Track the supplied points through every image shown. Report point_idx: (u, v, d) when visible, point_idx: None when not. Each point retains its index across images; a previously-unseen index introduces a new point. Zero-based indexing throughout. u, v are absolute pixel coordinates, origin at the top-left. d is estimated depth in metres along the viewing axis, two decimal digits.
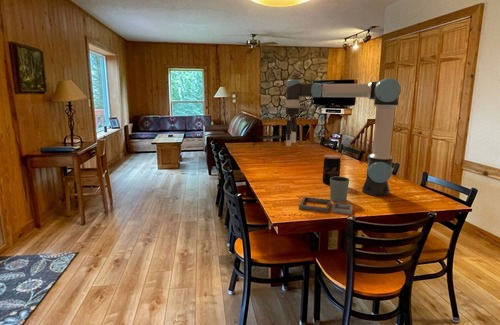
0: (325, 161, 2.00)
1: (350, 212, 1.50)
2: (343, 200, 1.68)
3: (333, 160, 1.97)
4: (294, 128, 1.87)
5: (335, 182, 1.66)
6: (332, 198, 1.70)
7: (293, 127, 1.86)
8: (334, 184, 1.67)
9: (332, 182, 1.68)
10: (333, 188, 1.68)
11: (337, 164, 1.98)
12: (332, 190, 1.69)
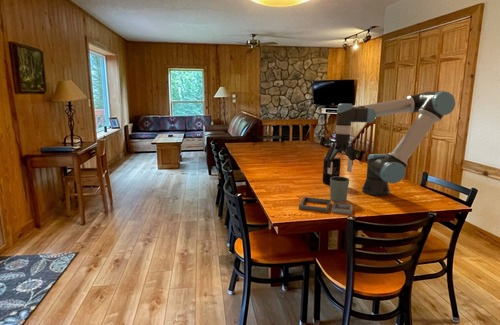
0: (325, 161, 2.00)
1: (350, 212, 1.50)
2: (343, 200, 1.68)
3: (333, 160, 1.97)
4: (349, 156, 1.69)
5: (335, 182, 1.66)
6: (332, 198, 1.70)
7: (348, 155, 1.69)
8: (334, 184, 1.67)
9: (332, 182, 1.68)
10: (333, 188, 1.68)
11: (337, 164, 1.98)
12: (332, 190, 1.69)
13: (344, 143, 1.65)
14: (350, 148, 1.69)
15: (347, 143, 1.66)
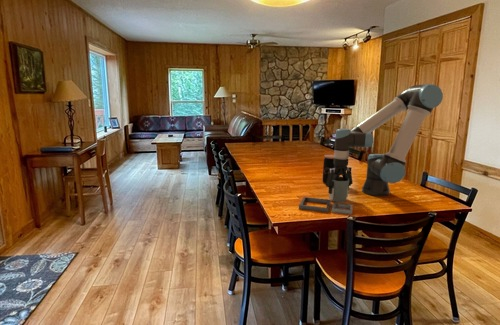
0: (325, 161, 2.00)
1: (350, 212, 1.50)
2: (343, 200, 1.68)
3: (333, 160, 1.97)
4: None
5: (335, 182, 1.66)
6: None
7: (345, 180, 1.71)
8: (334, 184, 1.67)
9: None
10: None
11: None
12: None
13: (343, 166, 1.67)
14: (348, 173, 1.71)
15: (346, 167, 1.68)
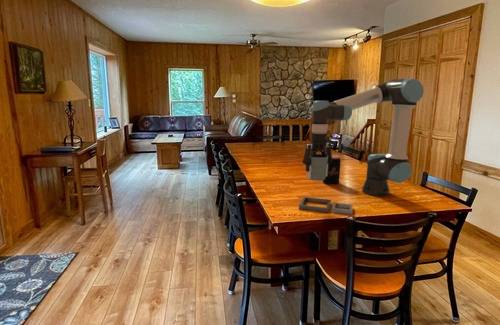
0: None
1: (350, 212, 1.50)
2: (321, 178, 1.55)
3: (333, 160, 1.97)
4: None
5: (312, 159, 1.52)
6: None
7: None
8: (311, 161, 1.53)
9: None
10: None
11: (337, 164, 1.98)
12: None
13: (321, 142, 1.54)
14: (327, 149, 1.58)
15: (324, 143, 1.55)
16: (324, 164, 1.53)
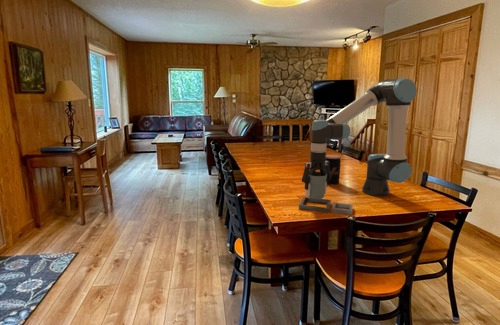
0: None
1: (350, 212, 1.50)
2: (320, 196, 1.56)
3: (333, 160, 1.97)
4: None
5: (311, 177, 1.54)
6: None
7: (323, 175, 1.60)
8: (310, 179, 1.55)
9: None
10: None
11: (337, 164, 1.98)
12: None
13: (320, 161, 1.56)
14: (326, 168, 1.60)
15: (323, 161, 1.57)
16: (323, 182, 1.55)
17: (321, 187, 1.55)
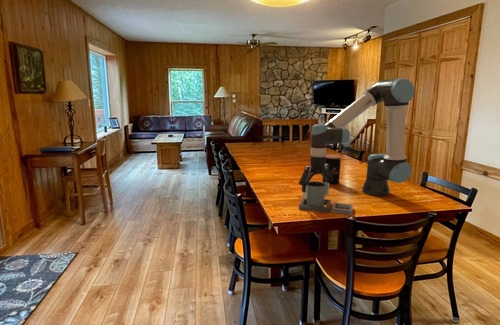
0: (325, 161, 2.00)
1: (350, 212, 1.50)
2: (319, 206, 1.57)
3: (333, 160, 1.97)
4: (326, 179, 1.60)
5: (311, 188, 1.55)
6: (308, 204, 1.59)
7: (324, 177, 1.61)
8: (310, 190, 1.56)
9: (308, 187, 1.57)
10: (309, 194, 1.58)
11: (337, 164, 1.98)
12: (308, 196, 1.58)
13: (320, 166, 1.56)
14: (327, 170, 1.60)
15: (323, 166, 1.57)
16: (322, 193, 1.56)
17: (321, 197, 1.56)
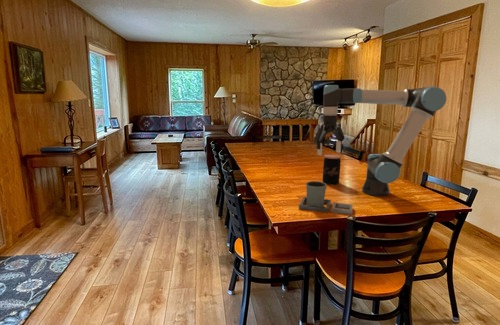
0: (325, 161, 2.00)
1: (350, 212, 1.50)
2: (319, 206, 1.57)
3: (333, 160, 1.97)
4: (338, 137, 1.72)
5: (311, 188, 1.55)
6: (308, 204, 1.59)
7: (336, 136, 1.72)
8: (310, 190, 1.56)
9: (308, 187, 1.57)
10: (309, 194, 1.58)
11: (337, 164, 1.98)
12: (308, 196, 1.58)
13: (332, 124, 1.68)
14: (338, 129, 1.72)
15: (335, 124, 1.69)
16: (322, 193, 1.56)
17: (321, 197, 1.56)
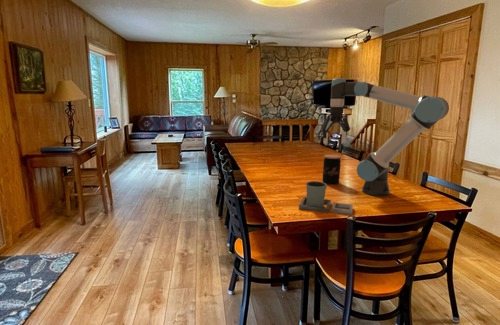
0: (325, 161, 2.00)
1: (350, 212, 1.50)
2: (319, 206, 1.57)
3: (333, 160, 1.97)
4: (343, 128, 1.83)
5: (311, 188, 1.55)
6: (308, 204, 1.59)
7: (342, 127, 1.84)
8: (310, 190, 1.56)
9: (308, 187, 1.57)
10: (309, 194, 1.58)
11: (337, 164, 1.98)
12: (308, 196, 1.58)
13: (338, 115, 1.79)
14: (344, 120, 1.83)
15: (341, 115, 1.80)
16: (322, 193, 1.56)
17: (321, 197, 1.56)
